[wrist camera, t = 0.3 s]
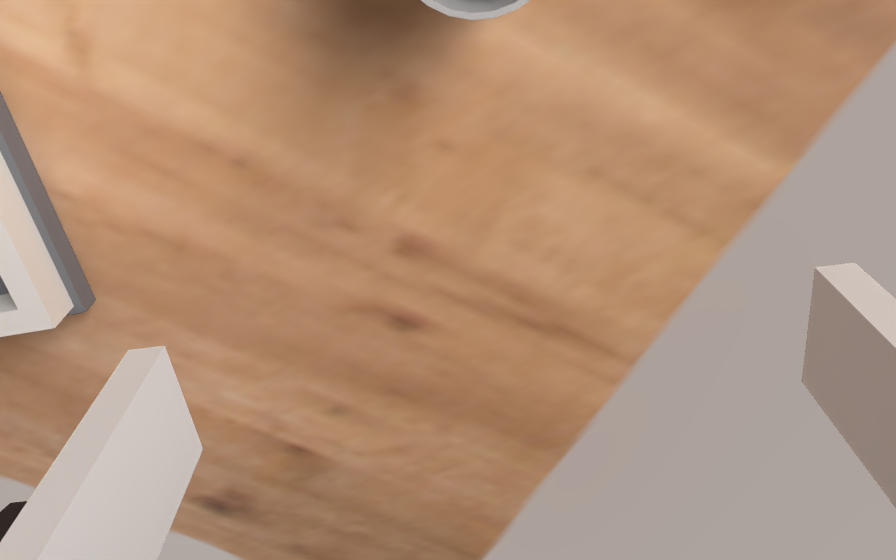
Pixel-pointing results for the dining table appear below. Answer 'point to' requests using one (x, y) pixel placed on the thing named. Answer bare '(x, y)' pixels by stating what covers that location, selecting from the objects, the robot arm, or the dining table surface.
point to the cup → (475, 7)
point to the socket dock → (32, 246)
